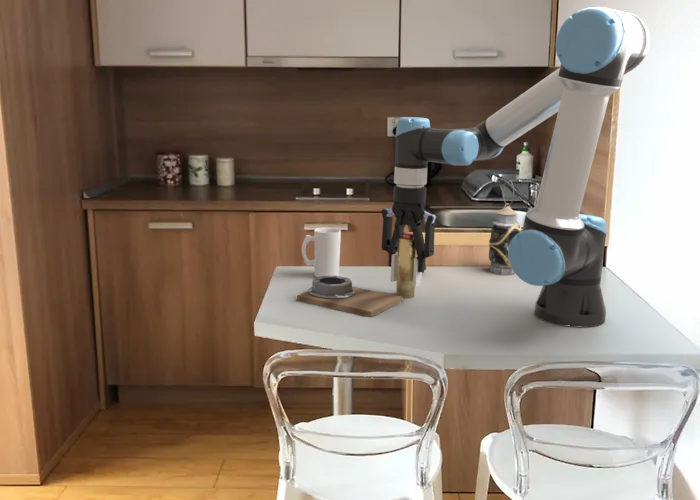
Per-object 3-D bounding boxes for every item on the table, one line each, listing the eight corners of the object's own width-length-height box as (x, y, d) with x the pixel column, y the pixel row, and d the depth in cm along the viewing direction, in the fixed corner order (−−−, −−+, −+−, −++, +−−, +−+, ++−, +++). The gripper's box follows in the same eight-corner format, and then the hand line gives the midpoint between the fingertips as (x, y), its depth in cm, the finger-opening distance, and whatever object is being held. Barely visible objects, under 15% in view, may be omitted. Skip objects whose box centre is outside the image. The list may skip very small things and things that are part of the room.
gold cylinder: (417, 294, 184) (420, 233, 181) (409, 299, 180) (411, 236, 177) (401, 291, 186) (404, 231, 183) (392, 295, 183) (395, 234, 179)
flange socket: (364, 291, 182) (364, 279, 181) (338, 302, 173) (338, 289, 172) (325, 283, 187) (326, 272, 187) (298, 293, 178) (299, 281, 178)
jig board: (402, 301, 178) (402, 296, 178) (371, 316, 167) (371, 311, 166) (330, 287, 189) (331, 282, 188) (296, 300, 177) (296, 295, 177)
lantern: (522, 275, 204) (530, 181, 199) (494, 276, 203) (501, 182, 197) (509, 267, 213) (516, 177, 207) (481, 268, 211) (488, 177, 205)
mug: (336, 271, 203) (337, 227, 200) (342, 278, 197) (343, 232, 194) (298, 273, 200) (299, 228, 198) (303, 280, 194) (304, 233, 191)
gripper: (453, 187, 176) (447, 285, 181) (384, 179, 185) (380, 273, 190) (438, 191, 169) (433, 292, 175) (367, 183, 179) (364, 279, 184)
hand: (405, 282), depth 183 cm, fingers open, 5 cm apart
